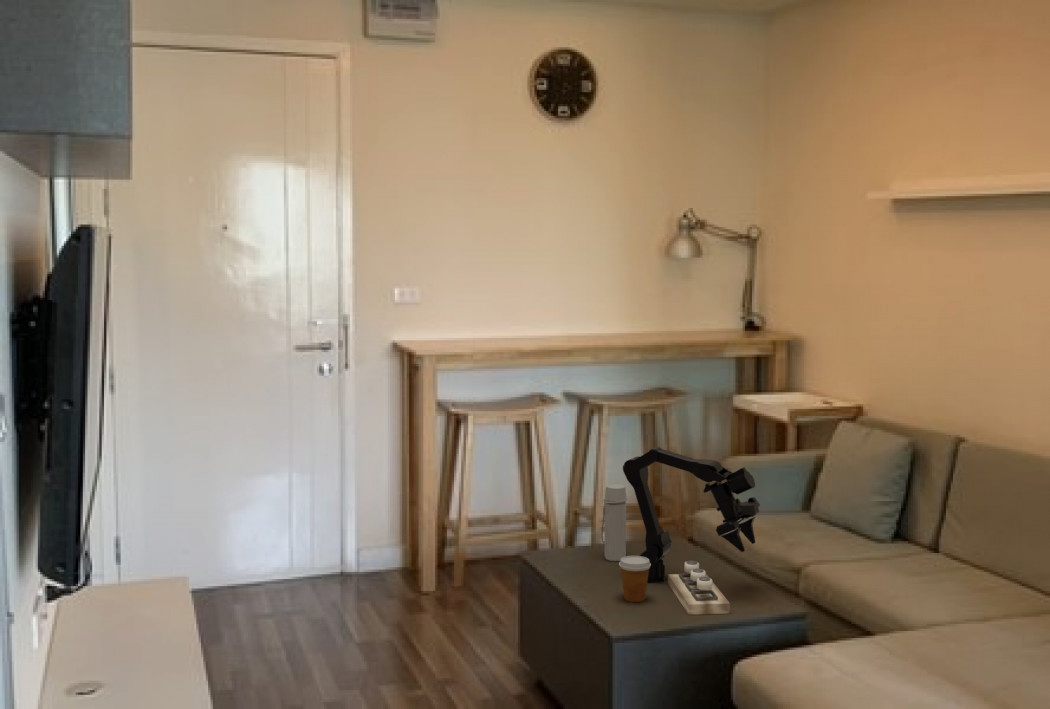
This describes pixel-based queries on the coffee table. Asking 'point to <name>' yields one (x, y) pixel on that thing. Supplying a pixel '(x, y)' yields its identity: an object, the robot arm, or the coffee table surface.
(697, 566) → the back knob
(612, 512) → the water bottle
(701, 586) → the front knob
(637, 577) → the disposable coffee cup
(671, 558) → the coffee table surface
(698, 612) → the knob console
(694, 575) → the middle knob
